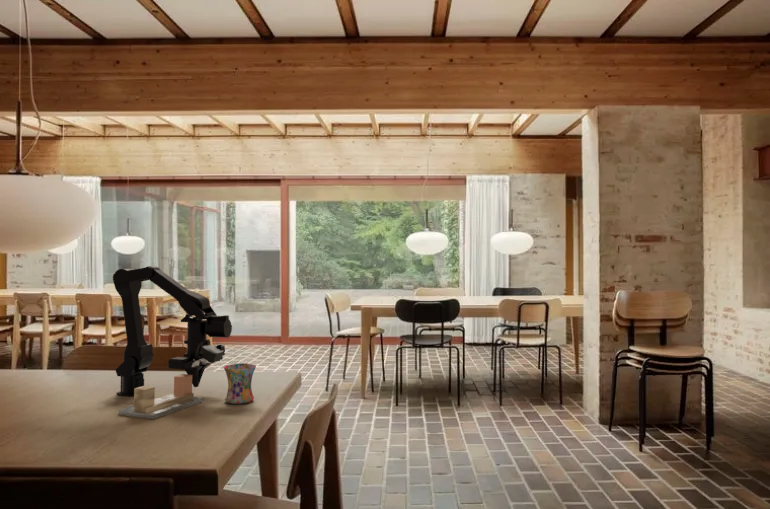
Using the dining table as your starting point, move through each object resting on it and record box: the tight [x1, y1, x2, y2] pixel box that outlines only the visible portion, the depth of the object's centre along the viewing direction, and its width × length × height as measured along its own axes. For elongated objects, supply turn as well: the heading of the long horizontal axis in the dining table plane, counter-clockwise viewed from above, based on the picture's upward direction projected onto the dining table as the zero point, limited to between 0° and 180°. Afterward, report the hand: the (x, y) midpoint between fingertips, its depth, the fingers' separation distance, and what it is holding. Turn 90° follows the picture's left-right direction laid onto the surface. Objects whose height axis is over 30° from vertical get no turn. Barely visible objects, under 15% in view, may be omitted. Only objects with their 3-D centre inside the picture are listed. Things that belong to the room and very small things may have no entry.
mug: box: [223, 363, 257, 405], centre depth 160 cm, size 12×9×11 cm
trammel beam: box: [133, 385, 195, 413], centre depth 151 cm, size 5×18×6 cm, turn 160°
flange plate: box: [117, 393, 205, 420], centre depth 151 cm, size 12×20×1 cm, turn 159°
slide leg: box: [173, 373, 193, 397], centre depth 159 cm, size 4×4×6 cm
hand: (196, 386), depth 164 cm, fingers closed
